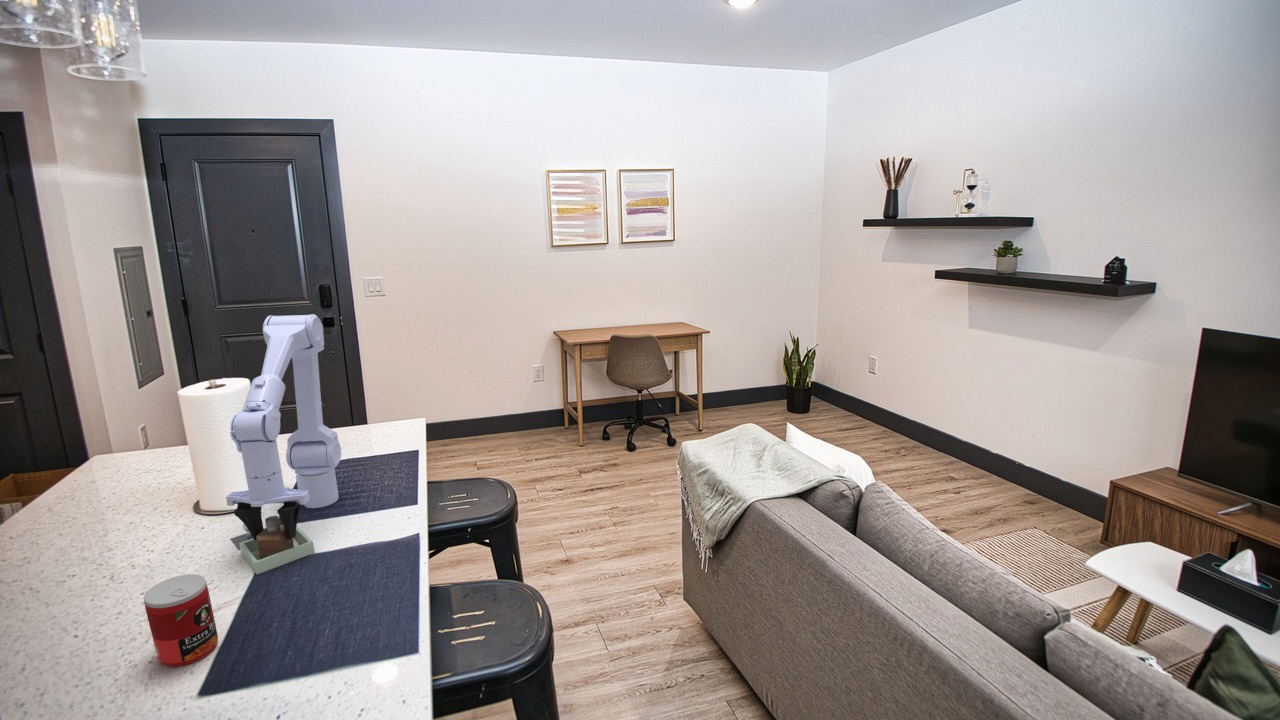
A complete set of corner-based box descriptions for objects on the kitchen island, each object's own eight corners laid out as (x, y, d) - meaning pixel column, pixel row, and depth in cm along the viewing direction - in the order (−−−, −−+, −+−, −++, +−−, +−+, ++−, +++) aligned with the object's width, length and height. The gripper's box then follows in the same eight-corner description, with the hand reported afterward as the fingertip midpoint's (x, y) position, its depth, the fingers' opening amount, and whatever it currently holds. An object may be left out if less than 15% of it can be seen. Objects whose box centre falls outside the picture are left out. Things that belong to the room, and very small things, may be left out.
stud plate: (231, 544, 127) (226, 521, 126) (264, 532, 131) (260, 511, 130) (239, 555, 123) (234, 532, 122) (273, 543, 127) (269, 521, 126)
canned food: (191, 671, 93) (176, 606, 90) (144, 665, 94) (128, 601, 91) (231, 636, 100) (219, 575, 97) (187, 631, 101) (174, 571, 99)
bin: (242, 559, 122) (239, 543, 121) (297, 539, 129) (295, 523, 128) (257, 580, 115) (254, 563, 114) (315, 557, 122) (312, 541, 121)
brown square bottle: (273, 550, 123) (266, 513, 122) (294, 550, 123) (288, 513, 122) (260, 562, 119) (254, 524, 117) (283, 561, 119) (276, 523, 117)
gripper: (210, 482, 113) (224, 549, 117) (291, 480, 113) (302, 547, 117) (234, 465, 120) (246, 529, 123) (310, 464, 120) (320, 528, 124)
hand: (275, 537), depth 121 cm, fingers open, 6 cm apart
